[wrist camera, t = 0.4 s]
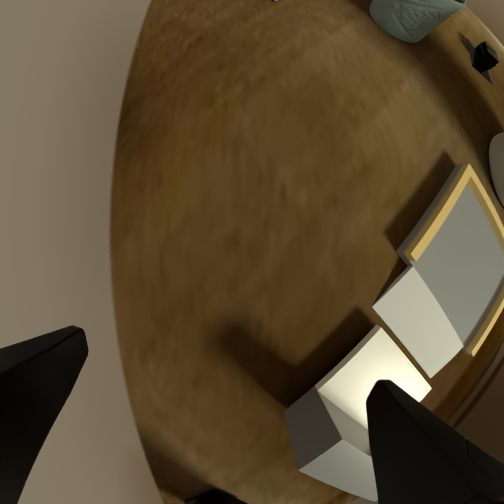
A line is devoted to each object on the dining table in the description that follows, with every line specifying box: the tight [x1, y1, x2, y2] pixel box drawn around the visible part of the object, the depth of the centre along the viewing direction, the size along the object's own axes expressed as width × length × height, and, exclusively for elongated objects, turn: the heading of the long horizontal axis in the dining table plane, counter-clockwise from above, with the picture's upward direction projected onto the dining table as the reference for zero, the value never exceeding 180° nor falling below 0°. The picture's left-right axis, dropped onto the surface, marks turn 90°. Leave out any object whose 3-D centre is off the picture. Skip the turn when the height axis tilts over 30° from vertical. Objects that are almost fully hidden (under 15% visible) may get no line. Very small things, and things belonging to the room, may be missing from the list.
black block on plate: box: [467, 38, 499, 85], centre depth 22 cm, size 12×7×5 cm, turn 159°
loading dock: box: [372, 164, 504, 378], centre depth 23 cm, size 20×18×3 cm
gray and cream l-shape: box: [283, 325, 432, 501], centre depth 19 cm, size 12×12×10 cm
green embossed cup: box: [369, 0, 466, 43], centre depth 17 cm, size 10×10×12 cm
